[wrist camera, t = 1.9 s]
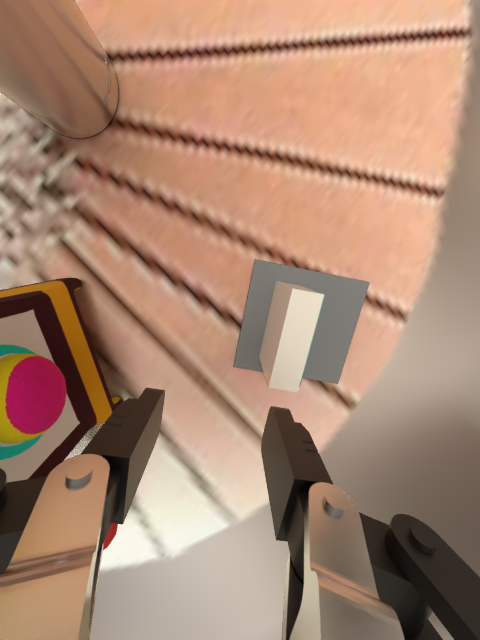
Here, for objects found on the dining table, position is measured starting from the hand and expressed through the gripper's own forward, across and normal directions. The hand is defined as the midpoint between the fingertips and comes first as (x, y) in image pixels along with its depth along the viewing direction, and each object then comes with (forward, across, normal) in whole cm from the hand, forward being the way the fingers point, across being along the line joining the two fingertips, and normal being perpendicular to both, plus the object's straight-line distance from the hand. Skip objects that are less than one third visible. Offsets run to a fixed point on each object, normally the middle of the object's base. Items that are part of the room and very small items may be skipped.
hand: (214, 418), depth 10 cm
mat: (+21, -10, 0) cm, 23 cm away
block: (+21, -7, 0) cm, 22 cm away
